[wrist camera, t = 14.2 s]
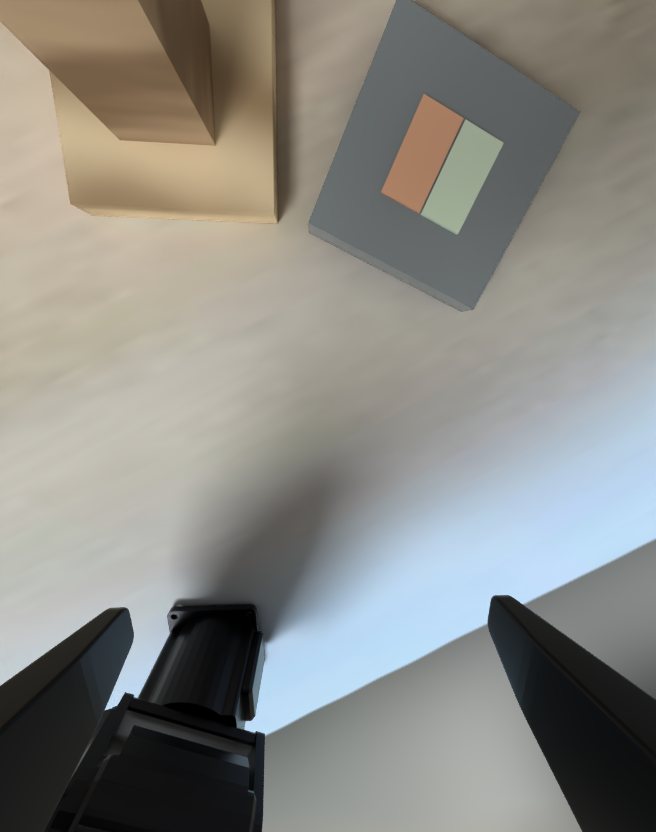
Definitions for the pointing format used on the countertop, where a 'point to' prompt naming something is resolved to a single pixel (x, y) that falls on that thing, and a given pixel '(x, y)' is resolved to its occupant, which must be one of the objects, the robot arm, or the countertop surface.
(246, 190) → the light wooden board
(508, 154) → the plate
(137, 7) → the walnut block
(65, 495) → the countertop surface
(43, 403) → the countertop surface
